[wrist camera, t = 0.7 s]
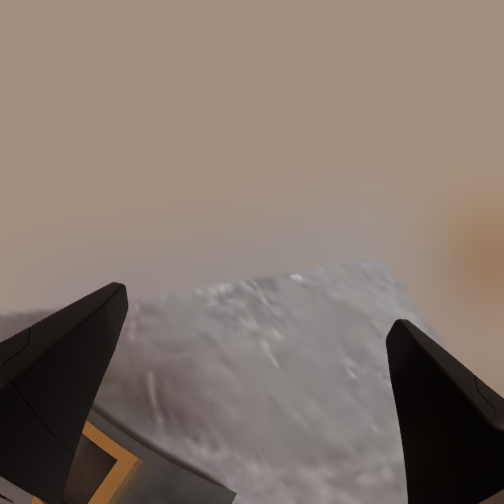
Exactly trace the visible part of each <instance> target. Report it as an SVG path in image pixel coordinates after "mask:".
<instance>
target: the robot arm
mask: <svg viewBox="0 0 504 504" xmlns="http://www.w3.org/2000/svg"><path fill="white" fill-rule="evenodd" d="M127 311H128V299H127V292H126V286H125V285H124V284H121V283H116V282H112V283H110V284H108V285H106V286H105V287H103V288H101V289H99V290H97V291H95V292H93V293H91V294H89V295H87V296H85V297H83V298H82V299H80V300H78V301H76V302H74V303H72V304H70V305H68V306H67V307H65V308H63V309H61V310H59V311H57V312H56V313H54V314H52V315H50V316H48V317H46V318H45V319H43V320H41V321H39V322H37V323H36V324H34V325H32V326H31V327H28V328H27V329H25V330H23V331H21V332H20V333H18V334H16V335H14V336H12V337H10V338H9V339H7V340H4V341H2V342H0V504H31V502H32V498H33V496H35V497H37V498H39V499H41V500H43V501H45V502H47V503H49V504H61V500H62V497H63V493H64V489H65V485H66V482H67V478H68V475H69V472H70V468H71V465H72V462H73V459H74V455H75V452H76V449H77V446H78V443H79V440H80V437H81V434H82V431H83V428H84V426H85V423H86V420H87V417H88V415H89V412H90V409H91V407H92V404H93V401H94V399H95V396H96V394H97V391H98V389H99V386H100V384H101V381H102V379H103V377H104V374H105V372H106V369H107V367H108V365H109V362H110V360H111V358H112V355H113V353H114V351H115V348H116V345H117V342H118V339H119V336H120V332H121V329H122V326H123V323H124V320H125V317H126V314H127ZM386 348H387V355H388V363H389V371H390V379H391V384H392V389H393V394H394V399H395V404H396V409H397V415H398V421H399V426H400V433H401V439H402V446H403V453H404V461H405V470H406V480H407V493H408V504H504V398H502V397H501V396H500V395H499V394H497V393H496V392H495V391H494V390H492V389H491V388H490V387H489V386H487V385H486V384H485V383H484V382H482V381H481V380H480V379H479V378H478V377H477V376H476V375H474V374H473V373H472V372H471V371H470V370H468V369H467V368H466V367H465V366H464V365H462V364H461V363H460V362H459V361H458V360H457V359H455V358H454V357H453V356H452V355H451V354H449V353H448V352H447V351H446V350H444V349H443V348H442V347H441V346H440V345H438V344H437V343H436V342H435V341H433V340H432V339H431V338H430V337H428V336H427V335H426V334H425V333H423V332H422V331H421V330H420V329H418V328H417V327H416V326H415V325H413V324H412V323H411V322H410V321H408V320H406V319H398V320H396V321H395V322H394V324H393V326H392V328H391V330H390V331H389V333H388V335H387V338H386Z"/></svg>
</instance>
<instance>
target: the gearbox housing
mask: <svg viewBox="0 0 504 504" xmlns="http://www.w3.org/2000/svg"><path fill="white" fill-rule="evenodd" d="M82 433H83V434H84V435H85V436H87V437H88V438H89V439H90V440H91V441H93V442H94V443H95V444H97V445H98V446H99V447H100V448H102V449H103V450H104V451H106V452H107V453H108V454H110V455H111V456H112V457H114V458H115V459H117V460H118V461H117V462H116V464H115V465H114V467H113V468H112V469H111V471H110V472H109V474H108V475H107V477H106V478H105V480H104V481H103V482H102V484H101V485H100V487H99V488H98V490H97V491H96V492H95V494H94V495H93V497H92V498H91V500H90V501H89V503H88V504H231V503H232V502H233V500H234V498H235V496H236V494H237V493H235V492H233V491H230V490H228V489H225V488H223V487H221V486H218V485H216V484H214V483H211V482H209V481H207V480H205V479H203V478H201V477H199V476H196V475H194V474H192V473H190V472H188V471H186V470H185V469H183V468H181V467H179V466H177V465H175V464H173V463H171V462H170V461H168V460H166V459H164V458H163V457H161V456H159V455H157V454H156V453H154V452H152V451H151V450H149V449H148V448H146V447H144V446H143V445H141V444H140V443H138V442H136V441H135V440H133V439H132V438H130V437H129V436H127V435H126V434H125V433H123V432H122V431H120V430H119V429H117V428H116V427H115V426H113V425H112V424H111V423H109V422H108V421H107V420H105V419H104V418H103V417H101V416H100V415H99V414H97V413H96V412H95V411H94V410H92V409H90V412H89V415H88V417H87V420H86V423H85V426H84V428H83V431H82ZM31 504H49V503H47V502H45V501H43V500H41V499H39V498H37V497H35V496H33V498H32V502H31ZM61 504H66V503H65V502H64V501H63V500H61Z"/></svg>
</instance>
